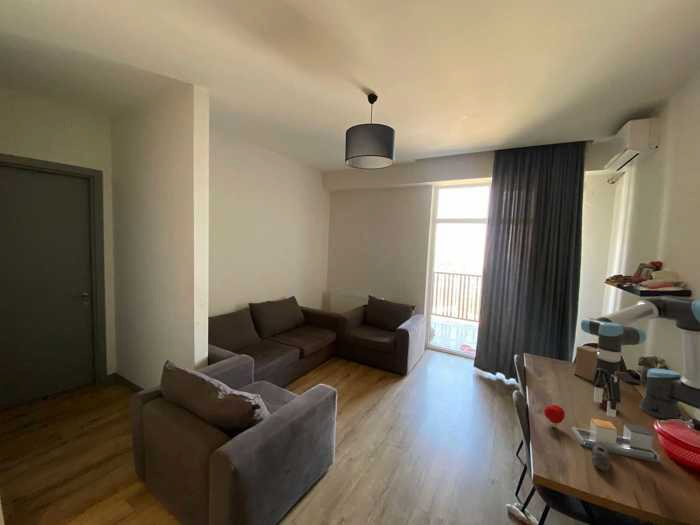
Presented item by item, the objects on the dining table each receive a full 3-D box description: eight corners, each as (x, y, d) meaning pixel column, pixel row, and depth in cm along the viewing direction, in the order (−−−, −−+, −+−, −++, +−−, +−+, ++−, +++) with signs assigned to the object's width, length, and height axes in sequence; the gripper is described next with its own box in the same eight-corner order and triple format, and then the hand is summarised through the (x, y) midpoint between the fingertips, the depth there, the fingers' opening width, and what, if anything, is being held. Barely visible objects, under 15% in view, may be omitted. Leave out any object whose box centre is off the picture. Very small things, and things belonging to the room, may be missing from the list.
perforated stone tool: (592, 449, 121) (593, 434, 120) (608, 456, 117) (610, 440, 117) (590, 469, 110) (591, 452, 109) (608, 477, 106) (610, 459, 106)
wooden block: (573, 375, 194) (575, 346, 193) (584, 373, 197) (586, 345, 196) (589, 381, 185) (592, 351, 184) (600, 380, 188) (602, 350, 186)
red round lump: (552, 433, 131) (554, 412, 130) (538, 423, 138) (540, 403, 137) (568, 430, 133) (569, 409, 133) (553, 421, 140) (555, 401, 140)
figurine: (593, 406, 155) (594, 384, 154) (593, 400, 161) (595, 380, 160) (617, 413, 148) (619, 391, 148) (617, 407, 154) (619, 386, 154)
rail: (643, 446, 124) (645, 424, 123) (659, 462, 114) (661, 439, 114) (571, 431, 132) (573, 411, 132) (581, 445, 123) (582, 423, 122)
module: (608, 439, 126) (610, 422, 125) (615, 447, 121) (617, 429, 120) (589, 435, 128) (590, 418, 128) (595, 443, 123) (596, 425, 123)
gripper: (585, 348, 135) (582, 394, 136) (611, 368, 113) (607, 421, 114) (605, 351, 132) (601, 397, 133) (635, 371, 110) (630, 426, 111)
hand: (604, 408), depth 124 cm, fingers open, 11 cm apart
